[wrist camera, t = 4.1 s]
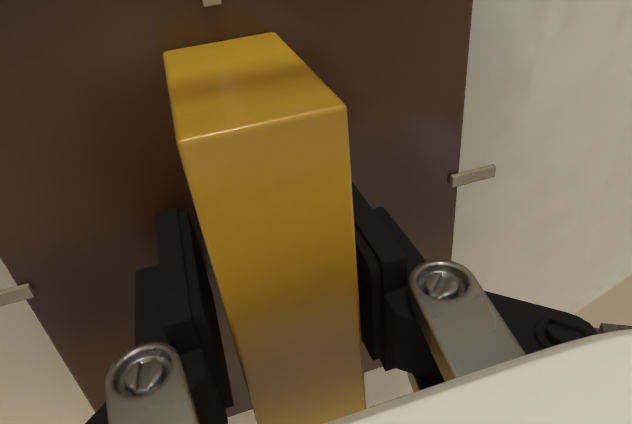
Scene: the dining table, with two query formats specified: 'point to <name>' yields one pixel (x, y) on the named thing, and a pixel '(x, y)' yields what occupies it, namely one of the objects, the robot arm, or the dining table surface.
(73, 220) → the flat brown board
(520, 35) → the dining table surface
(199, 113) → the yellow block
